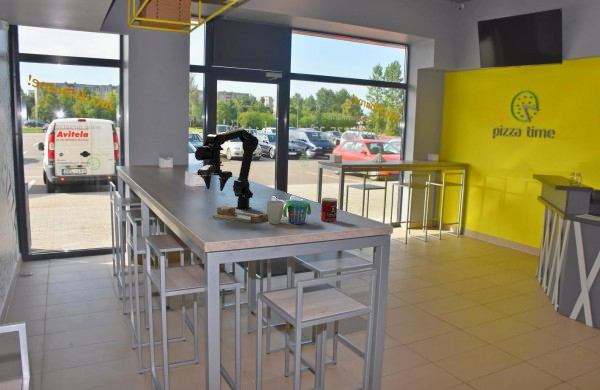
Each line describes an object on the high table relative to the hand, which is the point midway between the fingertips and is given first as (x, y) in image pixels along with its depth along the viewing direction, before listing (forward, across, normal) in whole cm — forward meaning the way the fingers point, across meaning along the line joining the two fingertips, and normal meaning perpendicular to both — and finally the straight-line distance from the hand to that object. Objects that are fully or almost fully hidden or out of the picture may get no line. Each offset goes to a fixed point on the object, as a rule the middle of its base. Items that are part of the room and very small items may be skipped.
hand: (214, 190), depth 247 cm
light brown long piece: (+12, +17, 0) cm, 20 cm away
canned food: (+13, +54, +22) cm, 60 cm away
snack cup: (+12, +45, +8) cm, 47 cm away
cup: (+12, +37, +1) cm, 39 cm away
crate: (+12, +8, 0) cm, 14 cm away
